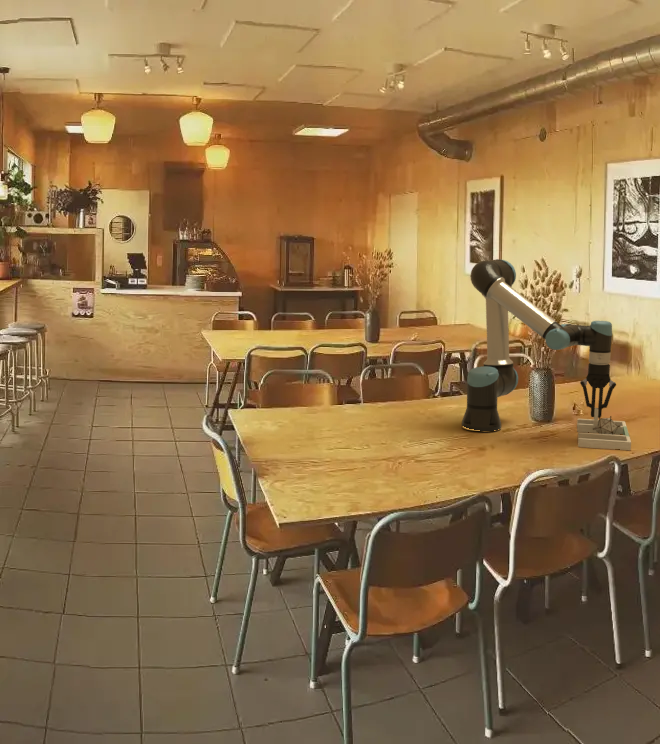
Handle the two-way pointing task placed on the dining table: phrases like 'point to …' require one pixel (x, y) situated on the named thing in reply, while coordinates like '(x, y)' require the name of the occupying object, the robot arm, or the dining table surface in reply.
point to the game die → (606, 426)
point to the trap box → (602, 436)
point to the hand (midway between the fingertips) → (595, 425)
